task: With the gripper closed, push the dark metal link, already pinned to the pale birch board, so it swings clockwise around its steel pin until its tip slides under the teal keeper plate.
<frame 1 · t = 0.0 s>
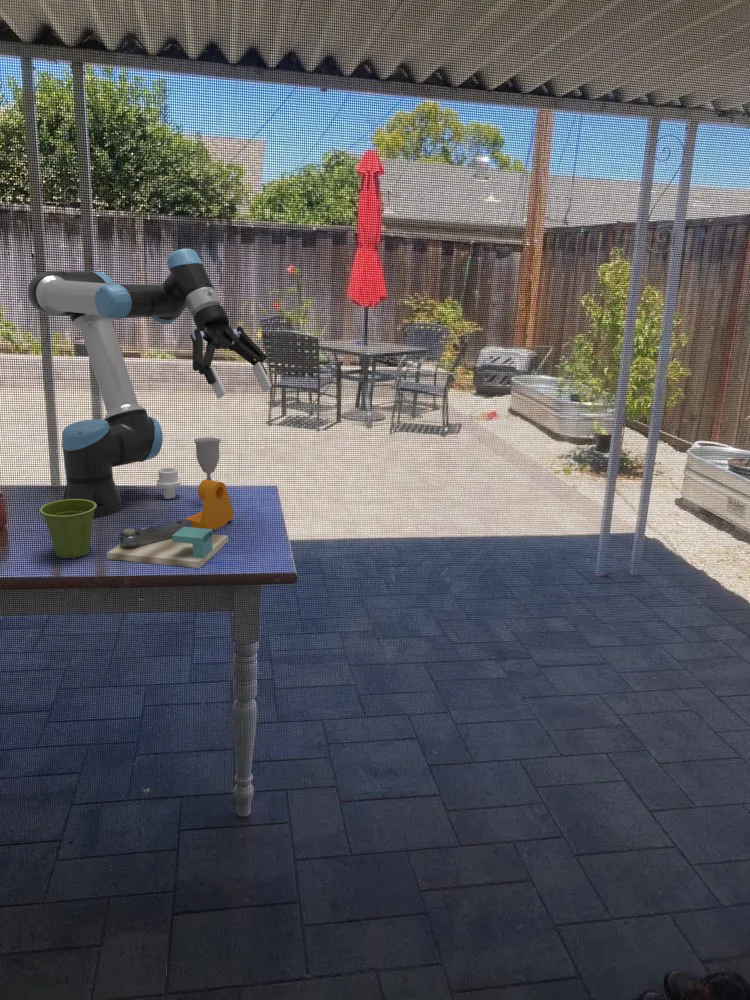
hand: (245, 392, 170), 36 cm above the table, tool tilted 35°, fingers open, 13 cm apart
pipe fitting: (169, 498, 211), on the table
base board: (169, 549, 173), on the table
plant pot: (73, 554, 169), on the table
link: (156, 533, 174), point 3 cm above the table, hinge at 55.0°
chalice: (210, 503, 207), on the table
bracket: (209, 526, 190), on the table
keeper: (187, 557, 168), resting on base board
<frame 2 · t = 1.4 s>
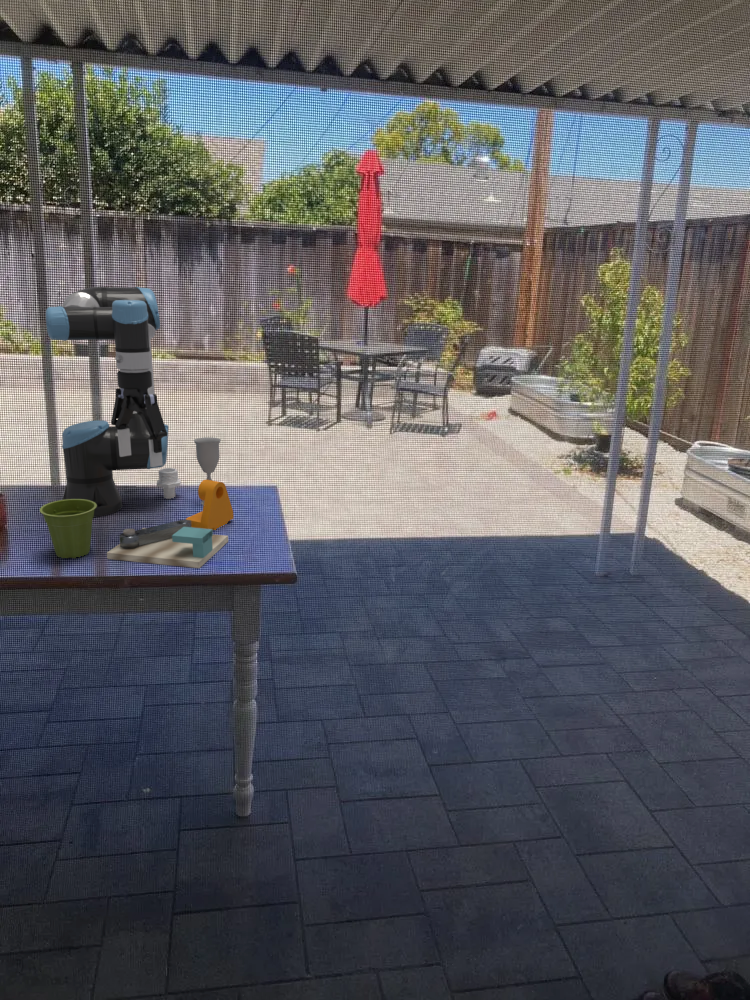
hand: (140, 460, 175), 19 cm above the table, tool pointing down, fingers open, 13 cm apart
nothing on the table moved.
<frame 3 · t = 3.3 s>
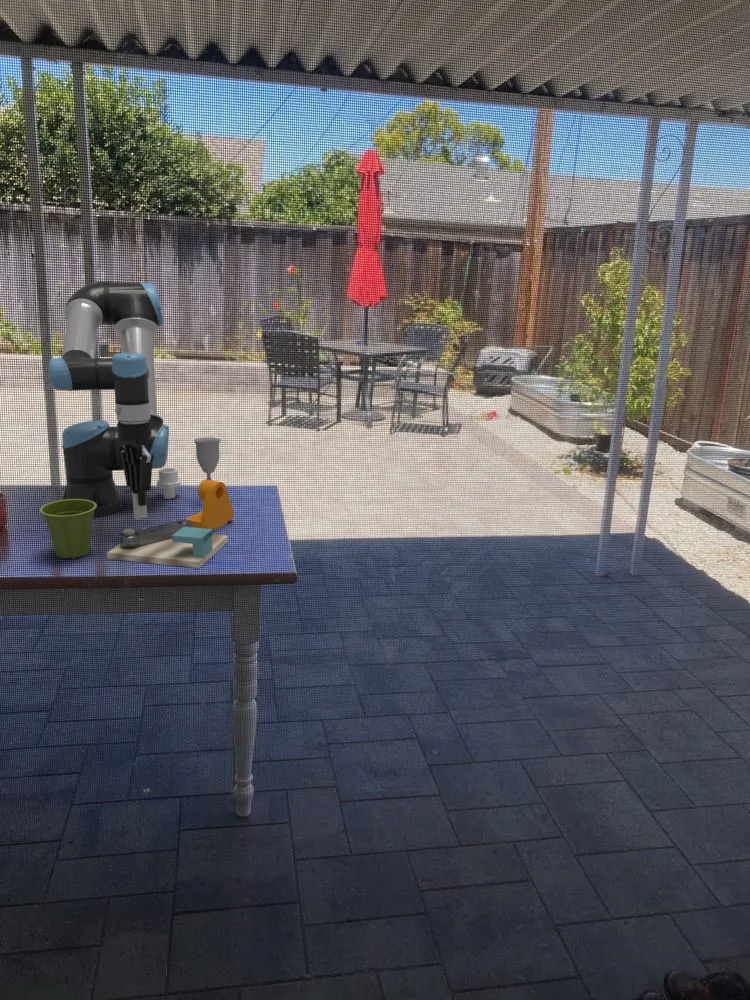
hand: (140, 517, 179), 5 cm above the table, tool pointing down, fingers closed
nothing on the table moved.
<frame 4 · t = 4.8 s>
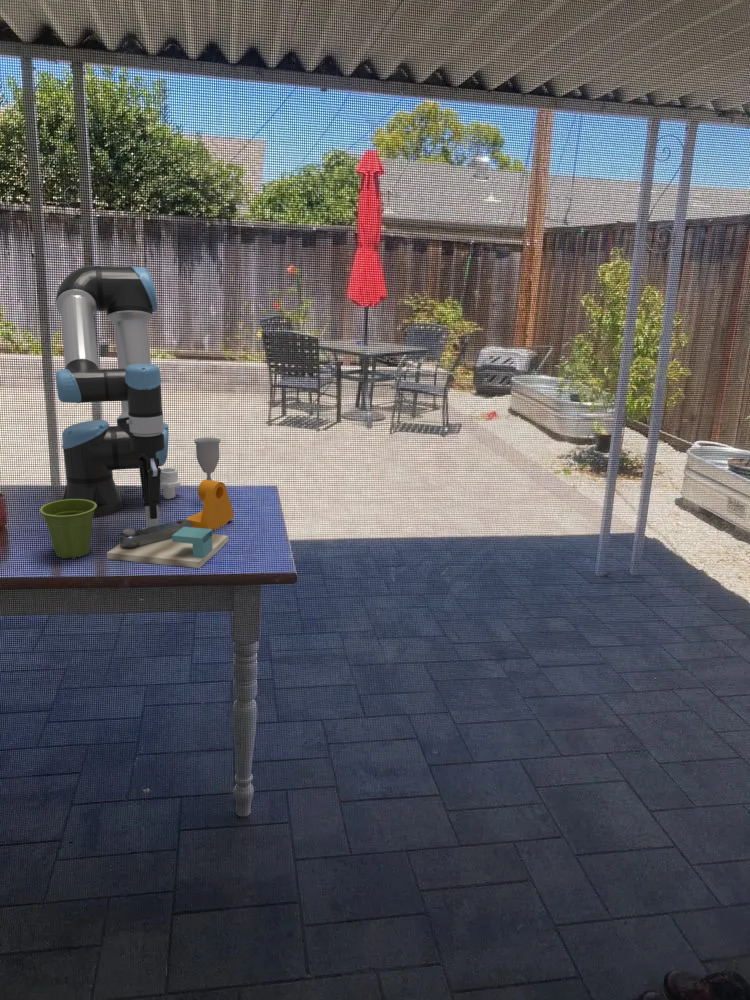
hand: (153, 530, 177), 3 cm above the table, tool pointing down, fingers closed
link: (156, 533, 174), point 3 cm above the table, hinge at 54.8°, touching gripper
everything else where it was.
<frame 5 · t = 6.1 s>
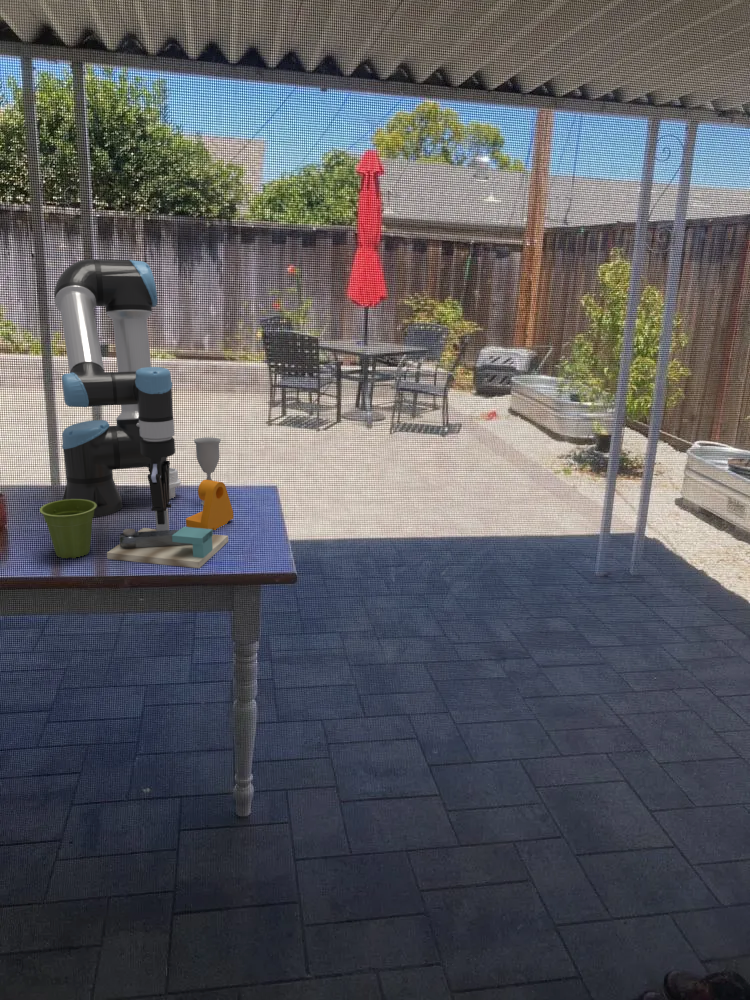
hand: (163, 535, 174), 3 cm above the table, tool pointing down, fingers closed
link: (160, 538, 171), point 3 cm above the table, hinge at 24.4°, touching gripper
everything else where it was.
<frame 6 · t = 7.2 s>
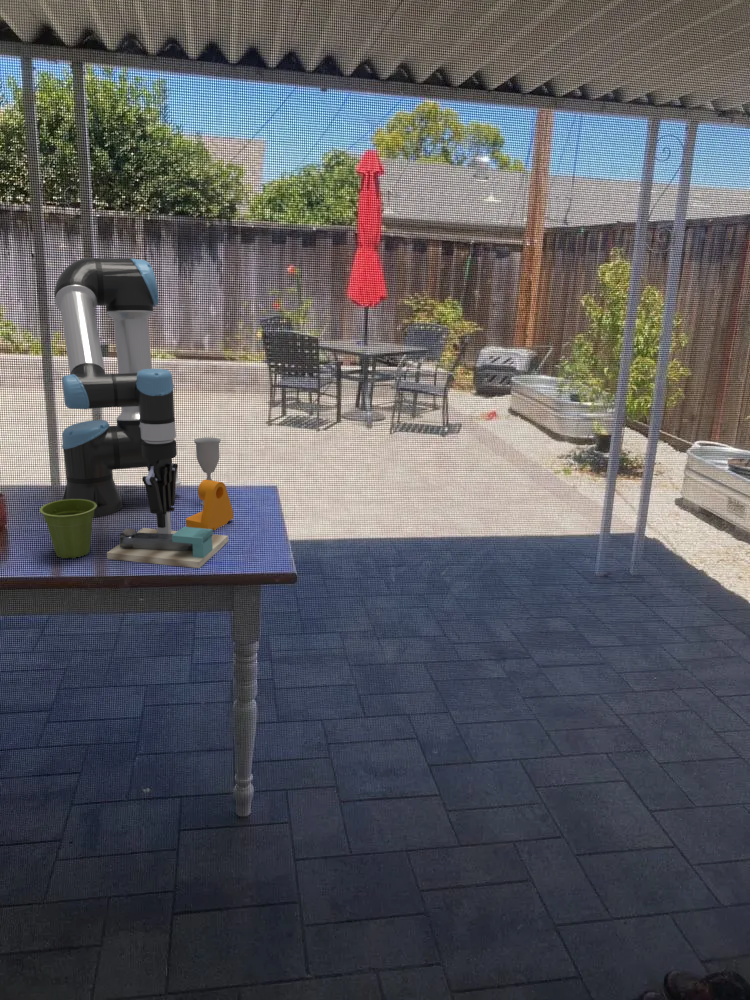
hand: (164, 538, 172), 3 cm above the table, tool pointing down, fingers closed
link: (158, 541, 170), point 3 cm above the table, hinge at 7.9°, touching gripper
everything else where it was.
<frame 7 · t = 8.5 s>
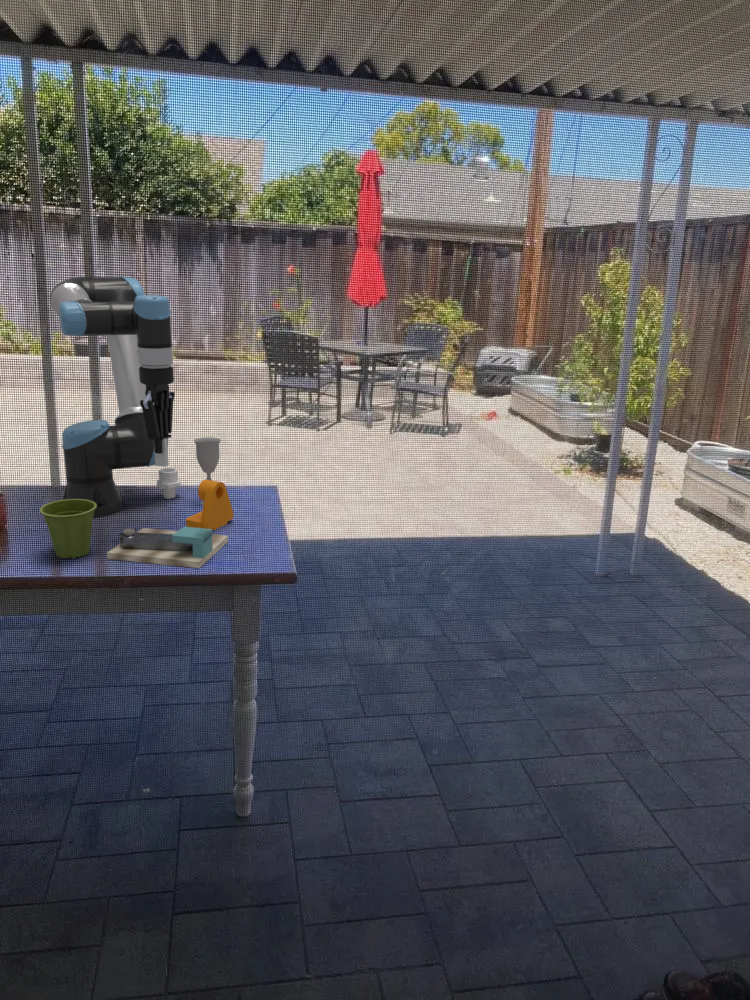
hand: (162, 465, 176), 18 cm above the table, tool pointing down, fingers closed
link: (158, 541, 170), point 3 cm above the table, hinge at 7.9°
everything else where it was.
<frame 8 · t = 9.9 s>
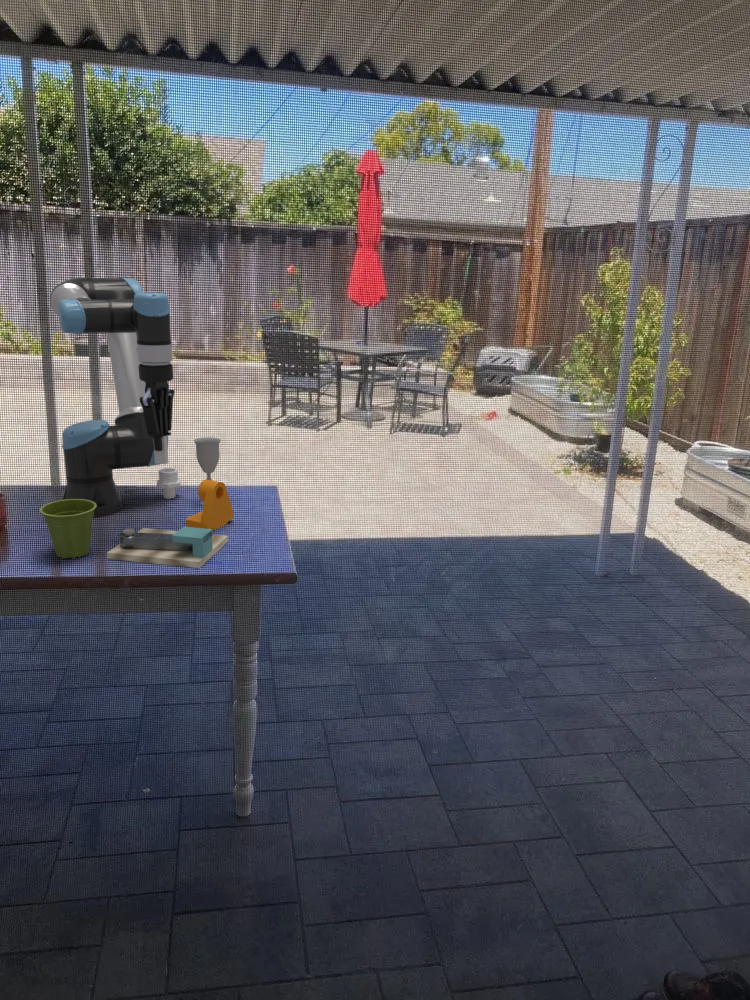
hand: (161, 463, 176), 18 cm above the table, tool pointing down, fingers closed
nothing on the table moved.
at the end: link at +8° (first picture: +55°) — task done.
